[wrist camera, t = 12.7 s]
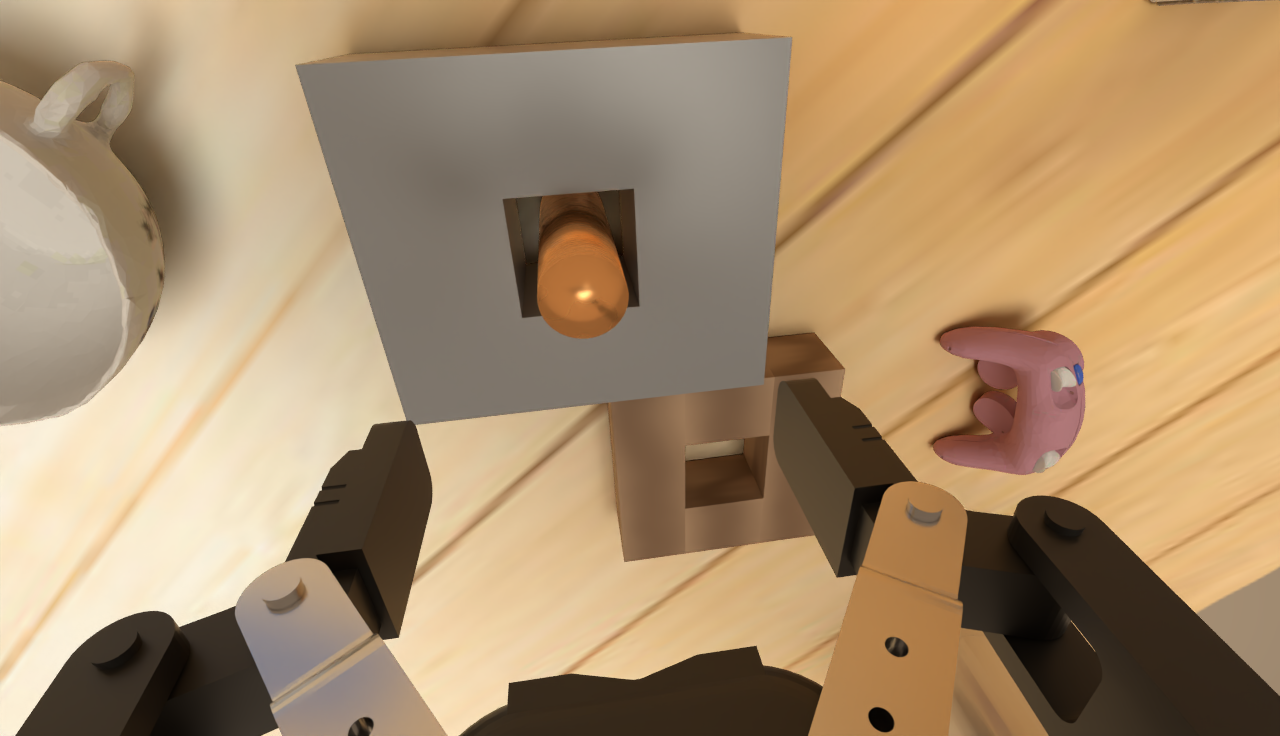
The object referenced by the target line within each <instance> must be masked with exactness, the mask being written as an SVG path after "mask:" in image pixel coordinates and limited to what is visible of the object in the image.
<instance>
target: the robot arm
mask: <svg viewBox="0 0 1280 736" xmlns="http://www.w3.org/2000/svg"><path fill="white" fill-rule="evenodd" d="M773 443H774V451H775V455H776V459H777V462H778V464H779V466H780V468H781V470H782V472H783V474H784V476H785V478H786V479H787V481H788V483H789V485H790V487H791V489H792V491H793V493H794V495H795V497H796V499H797V501H798V503H799V505H800V507H801V509H802V511H803V513H804V514H805V516H806V518H807V520H808V522H809V524H810V526H811V528H812V530H813V532H814V534H815V536H816V538H817V540H818V542H819V544H820V546H821V548H822V549H823V551H824V553H825V555H826V557H827V559H828V561H829V563H830V565H831V567H832V569H833V571H834V573H835V575H836V577H844V576H851V575H857V577H856V581H855V584H854V587H853V591H852V594H851V597H850V600H849V604H848V607H847V610H846V613H845V617H844V620H843V623H842V627H841V630H840V633H839V636H838V640H837V643H836V646H835V649H834V653H833V656H832V659H831V663H830V666H829V669H828V672H827V676H826V679H825V682H824V685H823V686H821V685H819V684H818V683H816V682H814V681H812V680H810V679H808V678H806V677H804V676H802V675H799V674H796V673H793V672H790V671H788V670H784V669H780V668H775V667H771V666H763V665H762V662H761V659H760V656H759V653H758V650H757V646H752V647H746V648H739V649H732V650H726V651H719V652H712V653H706V654H699V655H696V656H693V657H691V658H689V659H686V660H684V661H682V662H679V663H677V664H675V665H672V666H670V667H668V668H665V669H663V670H661V671H658V672H656V673H654V674H651V675H649V676H647V677H644V678H641V679H637V680H627V679H618V678H608V677H599V676H589V675H579V674H566V675H559V676H553V677H546V678H540V679H533V680H526V681H520V682H513V683H509V691H508V705H505V706H503V707H501V708H499V709H497V710H495V711H493V712H491V713H489V714H488V715H486V716H484V717H483V718H481V719H480V720H478V721H477V722H476V723H474V724H473V725H471V726H470V727H469V728H467V729H466V730H465V731H464V732H463V733H462V734H461V735H459V736H1280V696H1279V695H1278V694H1277V693H1276V692H1275V691H1274V690H1273V689H1272V688H1271V687H1270V686H1269V685H1268V684H1267V683H1266V682H1265V681H1264V680H1263V679H1262V678H1261V677H1260V676H1259V675H1258V674H1257V673H1256V672H1255V671H1253V669H1252V668H1250V666H1249V665H1247V664H1246V663H1245V662H1244V661H1243V660H1242V659H1241V658H1240V657H1239V656H1238V655H1237V654H1236V653H1235V652H1234V651H1233V650H1232V649H1231V648H1230V647H1229V646H1228V645H1227V644H1226V643H1225V642H1224V641H1223V640H1222V639H1221V638H1220V637H1219V636H1218V635H1217V634H1216V633H1215V632H1214V631H1213V630H1212V629H1211V628H1210V627H1209V626H1208V625H1207V624H1206V623H1205V622H1204V621H1203V620H1202V619H1201V618H1200V617H1199V616H1198V615H1197V614H1196V613H1195V612H1194V611H1193V610H1192V609H1191V608H1190V607H1189V606H1188V605H1187V604H1186V603H1185V602H1184V601H1183V600H1182V599H1181V598H1180V597H1179V596H1178V595H1177V594H1176V593H1174V592H1173V591H1172V590H1171V589H1170V588H1169V587H1168V586H1167V585H1166V584H1165V583H1164V582H1163V581H1162V580H1161V579H1160V578H1159V577H1158V576H1157V575H1156V574H1155V573H1154V572H1153V571H1152V570H1151V569H1150V568H1149V567H1148V566H1147V565H1146V564H1145V563H1144V562H1143V561H1142V560H1141V559H1140V558H1139V557H1138V556H1137V555H1136V554H1135V553H1134V552H1133V551H1132V550H1131V549H1130V548H1129V547H1128V546H1127V545H1126V544H1125V543H1124V542H1123V541H1122V540H1121V539H1120V538H1119V537H1118V536H1117V535H1116V534H1115V533H1114V532H1113V531H1112V530H1111V529H1110V528H1109V527H1108V526H1107V525H1106V524H1105V523H1104V522H1102V521H1101V520H1100V519H1099V518H1098V517H1097V516H1096V515H1094V514H1093V513H1091V512H1090V511H1088V510H1087V509H1085V508H1083V507H1081V506H1079V505H1077V504H1075V503H1073V502H1070V501H1067V500H1064V499H1061V498H1056V497H1051V496H1032V497H1028V498H1025V499H1023V500H1022V501H1020V502H1019V504H1018V505H1017V507H1016V510H1015V512H1014V515H1013V516H1007V515H999V514H990V513H982V512H974V511H967V510H965V509H964V507H963V506H962V504H961V503H960V502H959V501H958V500H957V499H956V498H955V497H954V496H952V495H951V494H950V493H948V492H946V491H944V490H943V489H941V488H938V487H936V486H933V485H930V484H926V483H922V482H918V481H917V480H916V479H915V478H914V476H913V475H912V474H911V473H910V471H909V470H908V469H907V468H906V466H905V465H904V464H903V463H902V461H901V460H900V459H899V458H898V456H897V455H896V454H895V453H894V451H893V450H892V449H891V448H890V446H889V445H888V444H887V443H886V441H885V440H882V436H881V435H880V434H879V432H878V431H877V430H876V429H875V427H872V424H871V422H870V421H869V420H868V419H867V417H866V416H865V415H864V414H863V412H862V411H861V410H860V409H859V408H857V407H856V406H854V405H853V404H851V403H849V402H848V401H846V400H845V399H843V398H842V397H834V398H831V397H830V396H829V395H828V393H827V392H826V391H825V389H824V388H823V387H822V385H821V384H820V383H819V381H818V380H817V379H816V378H805V379H796V380H787V381H781V382H780V384H779V386H778V393H777V403H776V413H775V424H774V434H773ZM431 504H432V481H431V476H430V472H429V469H428V465H427V462H426V459H425V455H424V452H423V449H422V445H421V442H420V439H419V435H418V432H417V429H416V426H415V424H414V423H413V421H411V420H409V421H399V422H390V423H381V424H374V425H373V426H372V428H371V430H370V432H369V434H368V437H367V439H366V441H365V443H364V446H363V448H362V449H360V450H351V451H348V452H347V453H346V454H345V455H344V456H343V457H342V458H341V459H340V460H339V461H338V462H337V463H336V464H335V465H334V466H333V467H332V468H331V469H330V471H329V473H328V475H327V477H326V479H325V481H324V483H323V485H322V491H320V492H319V494H318V496H317V498H316V500H315V502H314V507H312V508H311V510H310V512H309V514H308V516H307V518H306V520H305V522H304V524H303V526H302V528H301V530H300V532H299V534H298V536H297V539H296V541H295V543H294V545H293V547H292V549H291V551H290V553H289V555H288V557H287V559H286V561H285V562H284V563H282V564H279V565H277V566H275V567H273V568H271V569H269V570H268V571H266V572H264V573H263V574H261V575H260V576H259V577H257V578H256V579H255V580H254V581H253V582H252V583H251V584H249V586H248V587H247V588H246V589H245V590H244V591H243V593H242V594H241V596H240V598H239V600H238V602H237V604H236V606H234V607H232V608H229V609H227V610H224V611H222V612H219V613H216V614H214V615H211V616H208V617H206V618H203V619H200V620H197V621H195V622H192V623H189V624H187V625H184V626H181V627H178V625H177V624H176V623H175V621H174V620H173V618H172V617H171V616H170V615H168V614H166V613H164V612H160V611H148V612H141V613H137V614H134V615H131V616H128V617H125V618H123V619H120V620H118V621H116V622H114V623H112V624H110V625H108V626H106V627H105V628H103V629H102V630H100V631H99V632H97V633H96V634H94V635H93V636H92V637H90V638H89V639H88V640H86V641H85V642H84V643H83V644H82V645H81V646H80V647H79V648H78V649H77V650H76V651H75V652H74V653H73V654H72V655H71V656H70V658H69V659H68V660H67V662H66V663H65V664H64V666H63V667H62V669H61V670H60V672H59V673H58V675H57V676H56V678H55V679H54V680H53V682H52V683H51V685H50V686H49V688H48V689H47V691H46V692H45V693H44V695H43V696H42V698H41V699H40V701H39V702H38V704H37V705H36V706H35V708H34V709H33V711H32V712H31V714H30V715H29V717H28V718H27V720H26V721H25V722H24V724H23V725H22V727H21V728H20V730H19V731H18V733H17V734H16V735H15V736H261V735H263V734H266V733H268V732H270V731H272V730H275V729H277V728H279V729H280V732H281V734H282V736H447V734H446V733H445V731H444V730H443V728H442V727H441V725H440V724H439V722H438V721H437V719H436V718H435V716H434V715H433V713H432V712H431V711H430V709H429V708H428V706H427V705H426V703H425V702H424V700H423V699H422V697H421V696H420V694H419V693H418V691H417V690H416V688H415V687H414V685H413V684H412V683H411V681H410V680H409V678H408V677H407V675H406V674H405V672H404V671H403V669H402V668H401V666H400V665H399V663H398V662H397V660H396V659H395V657H394V656H393V655H392V653H391V652H390V650H389V649H388V647H387V646H386V644H385V643H384V641H383V640H386V639H393V638H399V634H400V630H401V626H402V622H403V618H404V614H405V610H406V606H407V602H408V598H409V594H410V590H411V585H412V581H413V577H414V573H415V569H416V565H417V561H418V557H419V553H420V549H421V545H422V541H423V537H424V533H425V528H426V524H427V520H428V516H429V512H430V508H431ZM1071 620H1072V622H1073V623H1074V624H1075V625H1076V627H1077V628H1078V629H1079V631H1080V632H1081V633H1082V634H1083V636H1084V637H1085V638H1086V639H1087V641H1088V642H1089V643H1090V644H1091V646H1092V647H1093V648H1094V650H1095V651H1094V650H1093V648H1092V647H1091V646H1090V645H1089V643H1088V642H1087V641H1086V640H1085V638H1084V637H1083V636H1082V635H1081V633H1080V632H1079V631H1078V630H1077V628H1076V627H1075V626H1074V624H1073V623H1072V622H1071Z"/></svg>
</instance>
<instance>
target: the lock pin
mask: <svg viewBox="0 0 1280 736" xmlns="http://www.w3.org/2000/svg"><path fill="white" fill-rule="evenodd" d="M628 300H629V292H628V287H627V283H626V280H625V277H624V273H623V270H622V267H621V263H620V260H619V257H618V253H617V250H616V247H615V244H614V240H613V237H612V234H611V230H610V227H609V224H608V220H607V217H606V214H605V211H604V207H603V204H602V201H601V198H600V196H599V195H598V193H597V192H584V193H572V194H559V195H547V196H543V198H542V200H541V204H540V218H539V251H538V284H537V303H538V307H539V310H540V313H541V315H542V317H543V319H544V320H545V321H546V323H547V324H548V325H549V326H550V327H551V328H553V329H554V330H555V331H557V332H559V333H560V334H563V335H565V336H568V337H571V338H578V339H588V338H594V337H597V336H600V335H602V334H605V333H606V332H608V331H610V330H611V329H612V328H614V327H615V326H616V325H617V324H618V323H619V322H620V320H621V319H622V317H623V316H624V314H625V312H626V309H627V306H628Z"/></svg>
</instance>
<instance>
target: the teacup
mask: <svg viewBox="0 0 1280 736" xmlns="http://www.w3.org/2000/svg"><path fill="white" fill-rule="evenodd" d="M107 85H110V88H109V91H108V93H107V96H106V98H105V100H104V102H103V104H102V106H101V112H100V113H99V115H98V116H97V118H96V119H95V120H94V121H92V122H87V123H85V122H81V121H78V120H75V119H76V118H77V117H78V116H79V114H80V113H81V112H82V111H83V110H84V109H85V108H86V106H88V105H89V104H90V103H92V102H93V101H94V100H96V99H97V97H98V95H99V93H100V92H101V91H102V90H103V89H104V88H105V87H106V86H107ZM133 97H134V73H133V72H132V70H131V69H130V67H128V66H125V65H123V64H121V63H118V62H115V61H94V62H82V63H80V64H78V65H77V66H75V67H74V68H73V69H72V70H70V71H69V72H68V73H66V74H65V75H64V76H62V77H61V78H60V79H59V80H57V81H56V82H55V83H54V84H53V85H52V86H51V88H50V89H49V90H48V91H47V93H46V94H45V96H44V97H43V99H42V100H41V99H39V98H37V97H35V96H33V95H31V94H29V93H27V92H25V91H23V90H21V89H19V88H17V87H15V86H13V85H10V84H8V83H6V82H4V81H1V80H0V426H5V425H15V424H25V423H30V422H34V421H41V420H45V419H49V418H55V417H60V416H62V415H65V414H68V413H69V412H71V411H73V410H74V409H76V408H78V407H80V406H82V405H84V404H86V403H88V402H89V401H90V400H91V399H92V398H93V397H94V396H95V395H96V394H97V393H98V392H99V391H100V390H101V389H102V388H103V387H104V386H105V385H107V384H108V383H109V382H110V381H111V380H112V379H113V378H114V377H115V376H116V375H117V374H118V373H119V372H120V371H121V369H122V368H123V367H124V366H125V365H126V363H127V362H128V360H129V359H130V358H131V356H132V355H133V353H134V352H135V351H136V349H137V348H138V346H139V345H140V343H141V342H142V341H143V339H144V337H145V335H146V333H147V331H148V329H149V327H150V325H151V323H152V321H153V319H154V316H155V314H156V312H157V309H158V306H159V302H160V298H161V294H162V290H163V285H164V272H165V259H164V249H163V243H162V238H161V233H160V229H159V225H158V221H157V218H156V215H155V213H154V210H153V208H152V206H151V204H150V203H149V201H148V199H147V197H146V195H145V193H144V191H143V190H142V188H141V186H140V185H139V184H138V182H137V181H136V179H135V178H134V177H133V175H132V174H131V173H130V172H129V170H128V169H127V168H126V167H125V166H124V165H123V163H122V162H121V161H120V160H119V159H118V158H117V157H116V155H115V154H114V153H113V152H112V149H111V147H110V141H111V137H112V136H113V134H114V132H115V131H116V129H117V128H118V126H119V125H121V124H122V123H123V122H124V121H125V119H126V118H127V116H128V115H129V113H130V111H131V110H132V104H133Z"/></svg>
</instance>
